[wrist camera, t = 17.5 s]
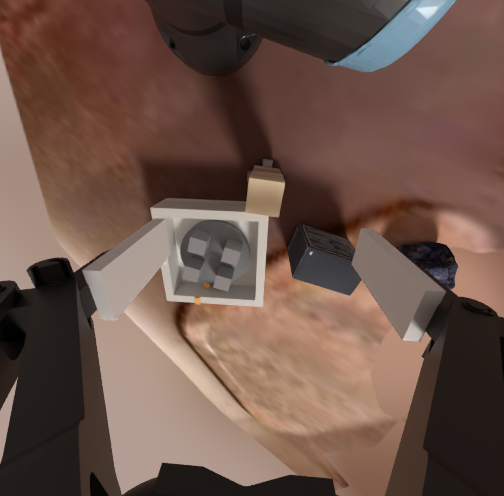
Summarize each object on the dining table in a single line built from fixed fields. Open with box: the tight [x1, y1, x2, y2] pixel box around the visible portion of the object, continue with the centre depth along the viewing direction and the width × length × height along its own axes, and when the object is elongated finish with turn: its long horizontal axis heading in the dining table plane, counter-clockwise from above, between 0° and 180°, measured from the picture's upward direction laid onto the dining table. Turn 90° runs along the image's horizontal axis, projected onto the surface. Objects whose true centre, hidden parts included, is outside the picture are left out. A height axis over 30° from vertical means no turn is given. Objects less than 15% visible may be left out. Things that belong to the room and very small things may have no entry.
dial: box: [180, 220, 250, 292], centre depth 41 cm, size 13×14×6 cm
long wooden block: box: [245, 158, 285, 217], centre depth 32 cm, size 6×6×15 cm
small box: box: [287, 223, 362, 296], centre depth 39 cm, size 11×6×10 cm, turn 72°
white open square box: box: [150, 198, 268, 307], centre depth 42 cm, size 19×19×7 cm
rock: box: [397, 242, 458, 290], centre depth 41 cm, size 11×10×10 cm
